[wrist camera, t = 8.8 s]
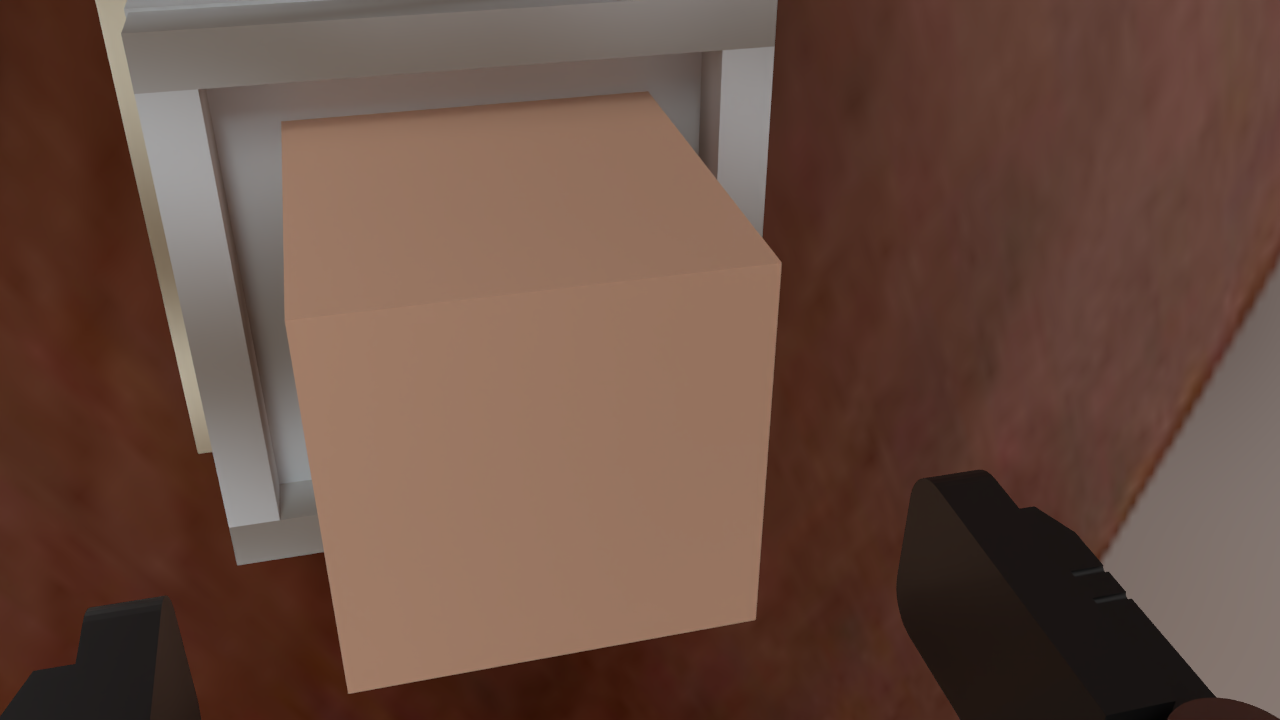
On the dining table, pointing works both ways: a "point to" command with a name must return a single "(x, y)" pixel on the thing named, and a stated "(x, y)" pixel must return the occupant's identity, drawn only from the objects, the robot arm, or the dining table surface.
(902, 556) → the robot arm
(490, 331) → the top block
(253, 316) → the stepped translucent block
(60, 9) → the dining table surface
